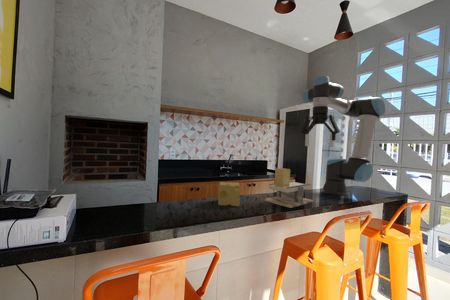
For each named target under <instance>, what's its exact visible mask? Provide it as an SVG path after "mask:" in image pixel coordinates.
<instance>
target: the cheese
mask: <svg viewBox="0 0 450 300" xmlns="http://www.w3.org/2000/svg"><path fill="white" fill-rule="evenodd" d="M217 192H218V195H217V197H218V199H217V204H218V205H217V206H231V207H240V203H241V201H240V200H241V199H240V196H241V195H240V193H241V191H240V182H235V181H234V182H227V181H226V182H225V181H224V182H223V181H220V182H219V184H218V191H217Z"/></svg>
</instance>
